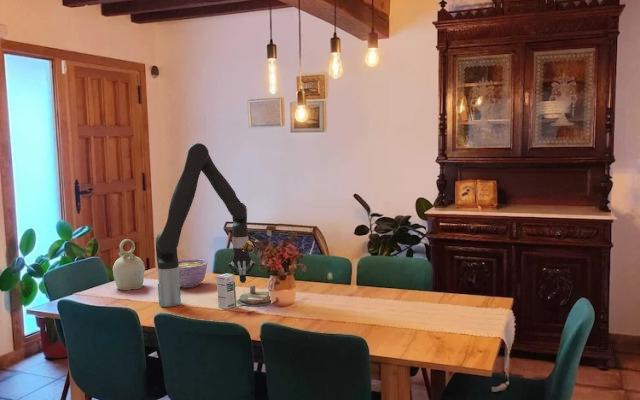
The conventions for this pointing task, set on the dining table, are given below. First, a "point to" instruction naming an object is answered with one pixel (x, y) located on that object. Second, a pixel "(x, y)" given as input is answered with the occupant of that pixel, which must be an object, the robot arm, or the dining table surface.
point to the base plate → (252, 304)
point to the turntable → (255, 297)
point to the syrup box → (226, 291)
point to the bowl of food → (191, 272)
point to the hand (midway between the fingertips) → (243, 282)
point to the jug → (128, 269)
